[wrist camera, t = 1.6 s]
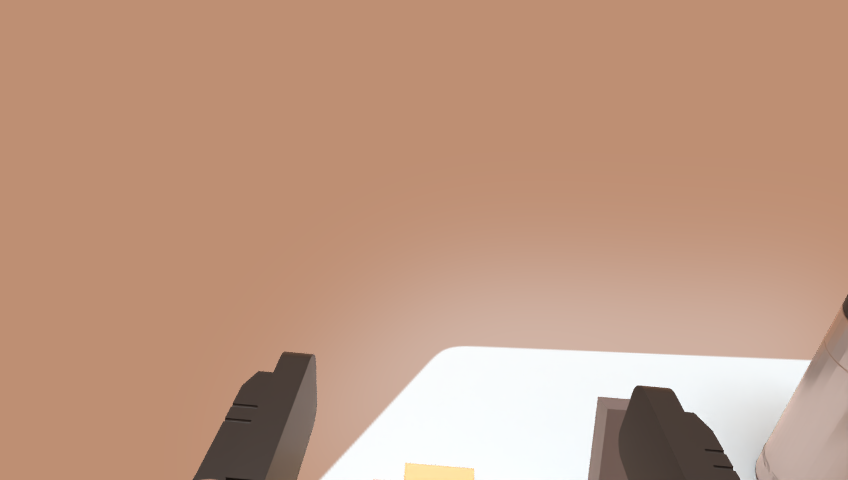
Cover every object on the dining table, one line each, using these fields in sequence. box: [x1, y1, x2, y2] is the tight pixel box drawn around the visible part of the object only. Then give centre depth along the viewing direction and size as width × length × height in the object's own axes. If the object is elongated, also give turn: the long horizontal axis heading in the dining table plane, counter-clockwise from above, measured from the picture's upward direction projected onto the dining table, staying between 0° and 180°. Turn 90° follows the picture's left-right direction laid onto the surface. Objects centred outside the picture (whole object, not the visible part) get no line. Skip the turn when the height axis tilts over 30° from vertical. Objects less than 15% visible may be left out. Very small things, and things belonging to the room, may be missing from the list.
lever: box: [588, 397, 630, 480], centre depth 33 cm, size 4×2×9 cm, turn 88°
